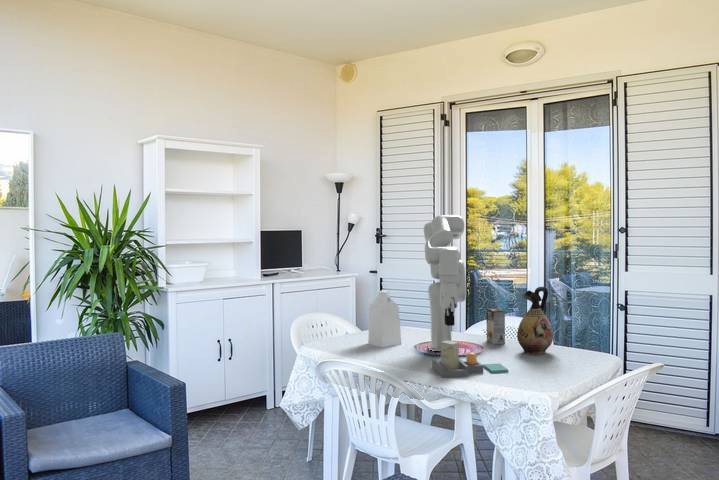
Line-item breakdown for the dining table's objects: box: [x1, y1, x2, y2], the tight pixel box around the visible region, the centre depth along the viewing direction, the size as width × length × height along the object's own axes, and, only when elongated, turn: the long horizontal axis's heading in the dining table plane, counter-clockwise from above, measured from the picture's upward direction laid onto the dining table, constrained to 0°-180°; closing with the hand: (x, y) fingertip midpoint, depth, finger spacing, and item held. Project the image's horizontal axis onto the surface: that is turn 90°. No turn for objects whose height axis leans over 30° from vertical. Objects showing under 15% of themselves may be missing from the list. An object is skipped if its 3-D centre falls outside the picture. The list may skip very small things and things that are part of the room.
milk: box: [367, 290, 402, 349], centre depth 286 cm, size 12×12×26 cm
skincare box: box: [440, 340, 460, 370], centre depth 232 cm, size 6×4×12 cm
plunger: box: [465, 352, 478, 365], centre depth 234 cm, size 4×4×6 cm
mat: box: [482, 362, 509, 374], centre depth 235 cm, size 10×7×1 cm
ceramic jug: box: [516, 286, 554, 356], centre depth 260 cm, size 17×15×30 cm
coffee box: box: [485, 307, 506, 345], centre depth 284 cm, size 9×6×16 cm
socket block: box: [431, 357, 484, 379], centre depth 233 cm, size 15×18×4 cm
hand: (449, 324), depth 232 cm, fingers closed
